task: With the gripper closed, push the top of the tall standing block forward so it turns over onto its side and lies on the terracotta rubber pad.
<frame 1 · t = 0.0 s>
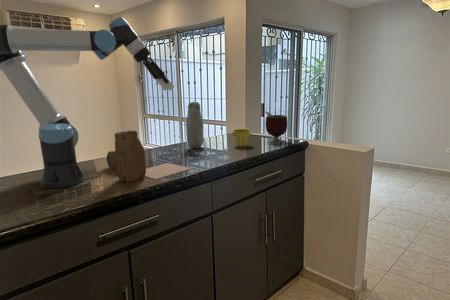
hand: (169, 89, 144), 36 cm above the counter, tool tilted 35°, fingers open, 13 cm apart
pad: (162, 170, 136), on the counter
plant pot: (241, 146, 189), on the counter
mate gourd: (275, 142, 198), on the counter
block: (132, 179, 125), on the counter
mottled brown rounded slab: (118, 169, 142), on the counter
grey bottle: (195, 148, 185), on the counter
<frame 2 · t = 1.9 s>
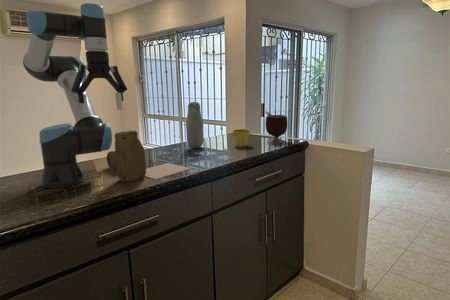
hand: (103, 111, 112), 29 cm above the counter, tool pointing down, fingers open, 13 cm apart
nothing on the counter moved.
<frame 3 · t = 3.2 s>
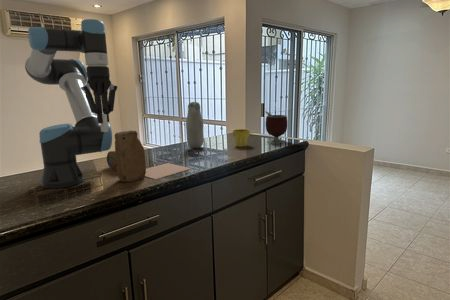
hand: (104, 131, 113), 21 cm above the counter, tool pointing down, fingers closed
nothing on the counter moved.
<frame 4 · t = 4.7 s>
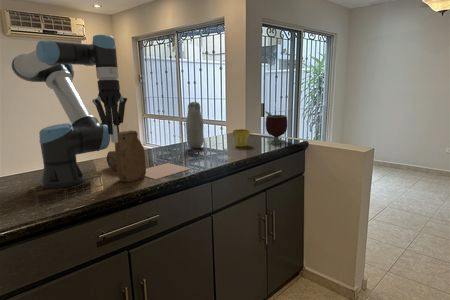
hand: (114, 142, 117), 17 cm above the counter, tool pointing down, fingers closed
block: (132, 179, 125), on the counter, touching gripper
everything else where it was.
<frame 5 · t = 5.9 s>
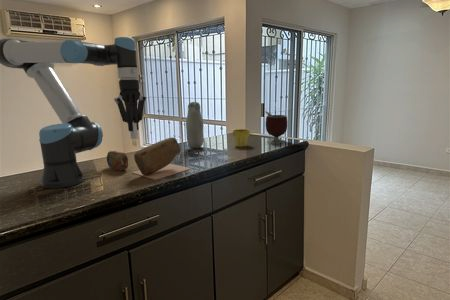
hand: (134, 138, 123), 17 cm above the counter, tool pointing down, fingers closed
block: (139, 165, 126), point 5 cm above the counter, touching pad
everything else where it was.
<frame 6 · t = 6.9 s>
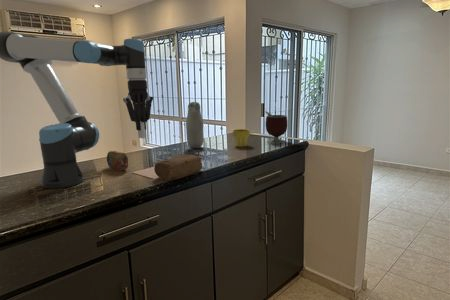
hand: (142, 137, 126), 16 cm above the counter, tool pointing down, fingers closed
block: (161, 171, 121), point 4 cm above the counter, touching pad
everything else where it was.
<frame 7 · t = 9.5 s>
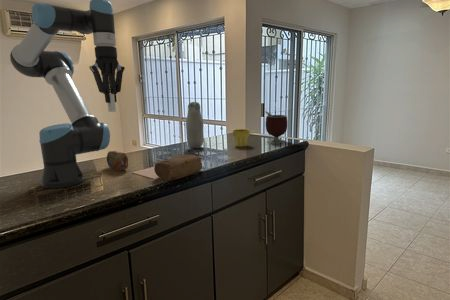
hand: (112, 111, 115), 28 cm above the counter, tool pointing down, fingers closed
nothing on the counter moved.
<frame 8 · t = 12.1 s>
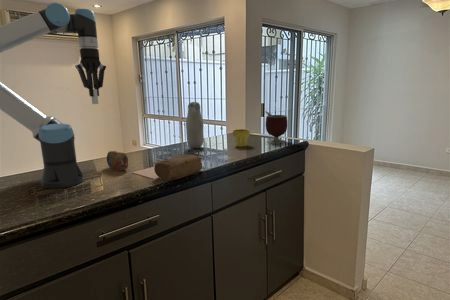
hand: (95, 103, 135), 30 cm above the counter, tool pointing down, fingers closed
nothing on the counter moved.
at the end: block tilted 91°; block touching pad, counter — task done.
